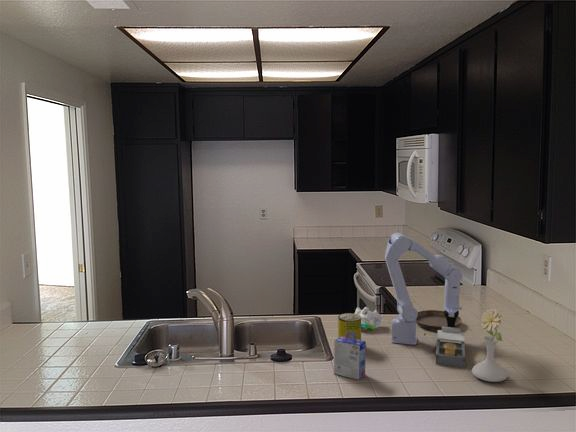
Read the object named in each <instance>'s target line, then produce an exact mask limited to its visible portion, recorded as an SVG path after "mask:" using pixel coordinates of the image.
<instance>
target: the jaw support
mask: <svg viewBox="0 0 576 432" xmlns="http://www.w3.org/2000/svg"><path fill="white" fill-rule="evenodd" d="M369 309H370V308H369V307H367V306H365V307H364V308H363V309H362V308H360V307H359V306H357V307H356V308H355V312H354V314H357V315H360V316H361V328H362V327H363V328H367V329H371V330H375V329H376V328H379V327H380V325H381V323H382V320H383V316H382V315H381V314H380V313H379V311H378V310H377V309H375V310H374V311H371V310H369ZM371 320H372V321H373V324H372V323H371Z"/></svg>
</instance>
